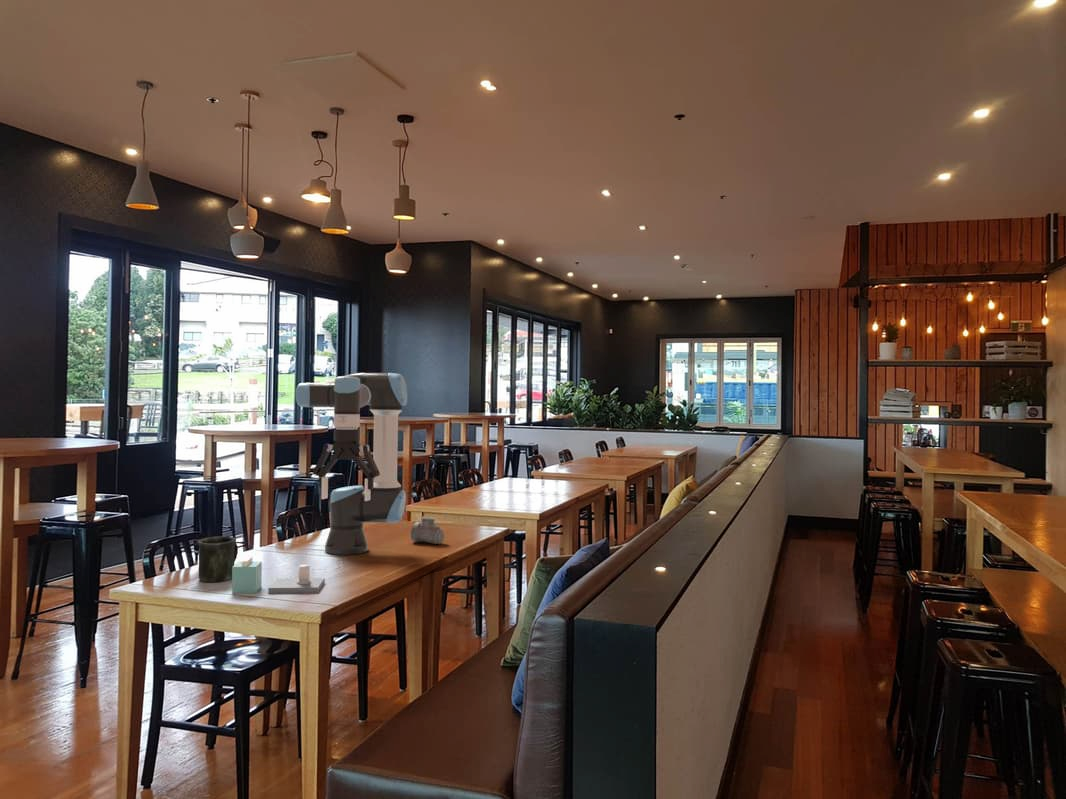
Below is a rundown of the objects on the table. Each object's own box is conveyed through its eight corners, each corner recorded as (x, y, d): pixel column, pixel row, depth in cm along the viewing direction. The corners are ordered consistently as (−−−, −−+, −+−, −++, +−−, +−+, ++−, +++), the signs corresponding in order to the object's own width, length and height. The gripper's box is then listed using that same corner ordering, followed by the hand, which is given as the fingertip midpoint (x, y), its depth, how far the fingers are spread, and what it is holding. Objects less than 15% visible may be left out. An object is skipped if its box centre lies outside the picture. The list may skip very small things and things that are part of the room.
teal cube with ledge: (238, 586, 228) (238, 556, 228) (261, 586, 228) (261, 556, 228) (231, 592, 221) (232, 561, 221) (255, 592, 222) (255, 561, 222)
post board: (277, 583, 232) (277, 561, 232) (324, 583, 234) (324, 561, 234) (268, 593, 221) (268, 570, 221) (317, 592, 223) (318, 570, 223)
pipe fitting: (407, 542, 294) (412, 515, 294) (420, 540, 302) (424, 514, 302) (433, 549, 289) (437, 522, 289) (445, 547, 296) (449, 521, 296)
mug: (188, 581, 233) (189, 542, 233) (221, 570, 247) (221, 533, 247) (219, 584, 230) (219, 544, 230) (250, 573, 244) (250, 536, 244)
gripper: (301, 428, 228) (301, 499, 228) (381, 430, 224) (381, 502, 224) (313, 426, 236) (312, 496, 236) (391, 428, 231) (390, 499, 231)
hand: (345, 499), depth 230 cm, fingers open, 13 cm apart
